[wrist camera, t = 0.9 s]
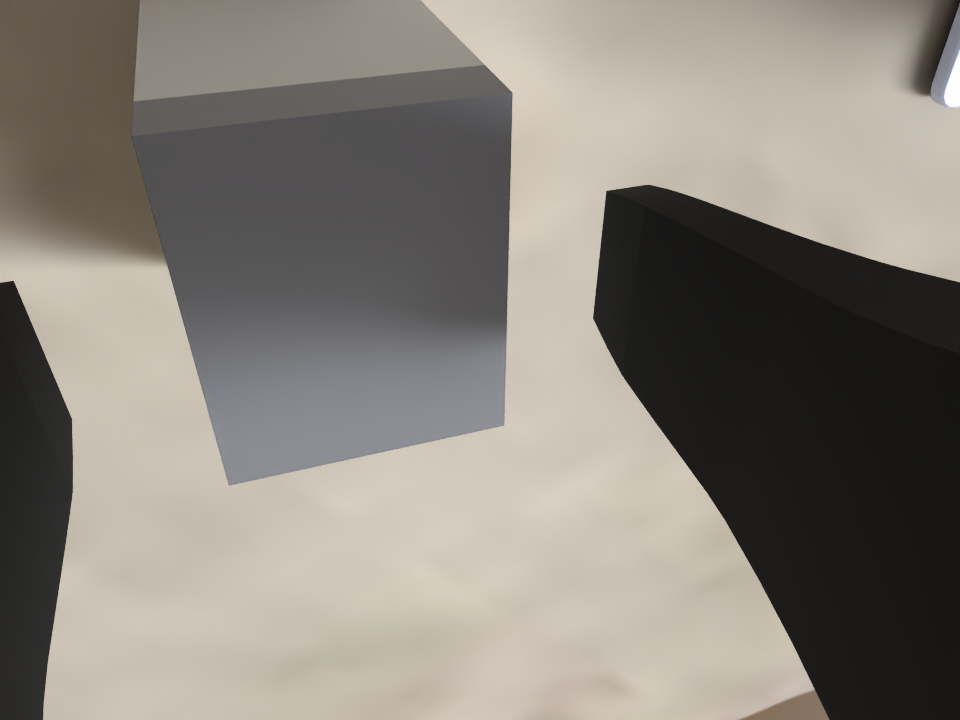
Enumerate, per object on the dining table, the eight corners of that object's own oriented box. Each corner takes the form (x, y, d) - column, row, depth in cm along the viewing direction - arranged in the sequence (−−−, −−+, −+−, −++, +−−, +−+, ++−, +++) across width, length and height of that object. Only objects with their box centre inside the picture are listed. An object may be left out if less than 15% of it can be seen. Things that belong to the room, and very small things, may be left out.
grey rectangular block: (392, -28, 13) (512, 92, 9) (409, 236, 16) (504, 425, 12) (140, -10, 12) (131, 135, 8) (207, 267, 16) (228, 485, 11)
